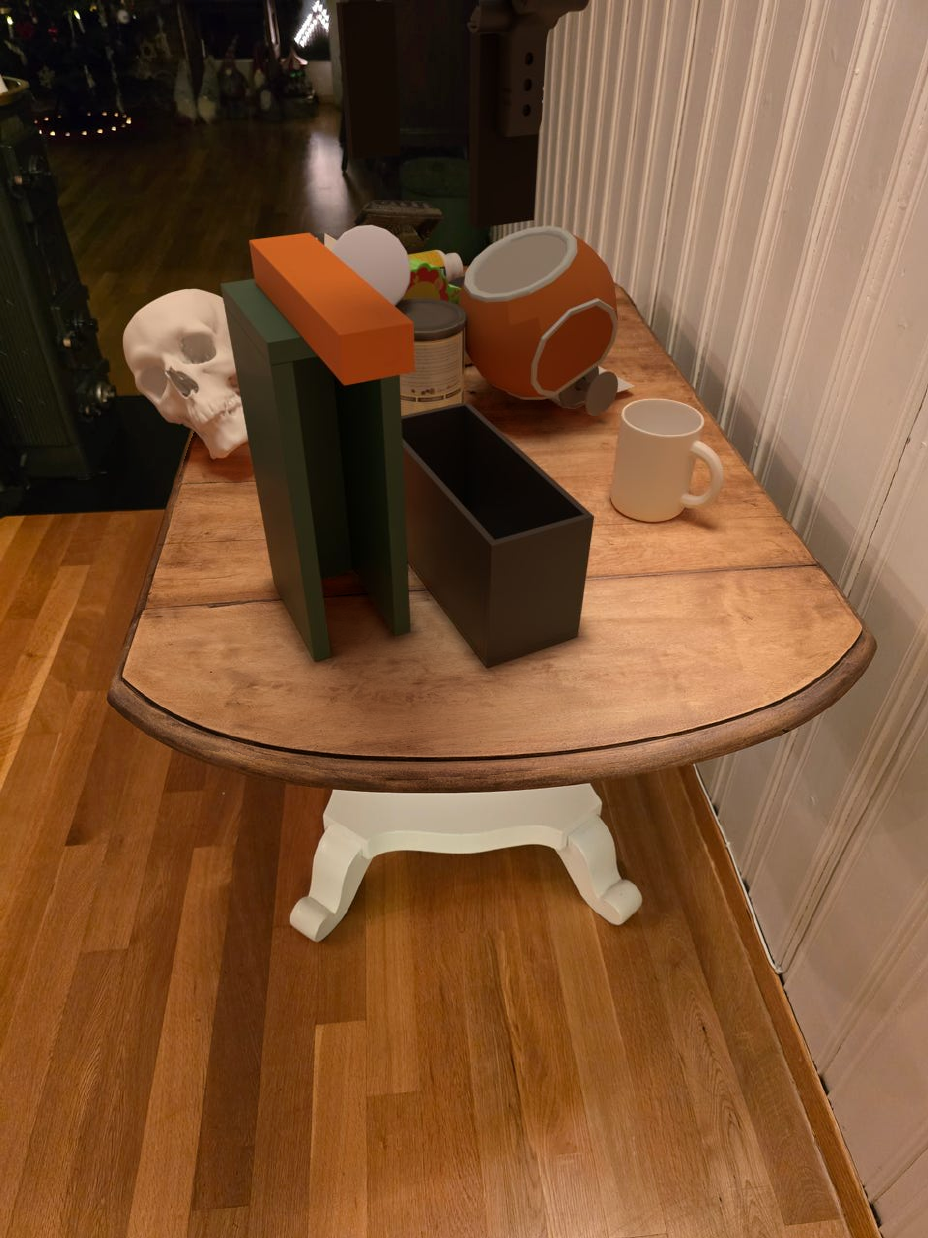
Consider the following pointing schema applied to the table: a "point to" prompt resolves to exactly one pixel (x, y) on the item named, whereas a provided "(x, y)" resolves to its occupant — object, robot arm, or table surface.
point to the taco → (431, 286)
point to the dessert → (621, 383)
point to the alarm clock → (538, 312)
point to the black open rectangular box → (492, 534)
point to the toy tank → (402, 220)
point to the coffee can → (434, 355)
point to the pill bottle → (442, 262)
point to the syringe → (591, 392)
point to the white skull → (188, 366)
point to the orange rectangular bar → (334, 309)
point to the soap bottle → (376, 260)
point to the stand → (320, 468)
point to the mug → (661, 461)
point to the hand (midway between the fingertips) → (430, 186)
